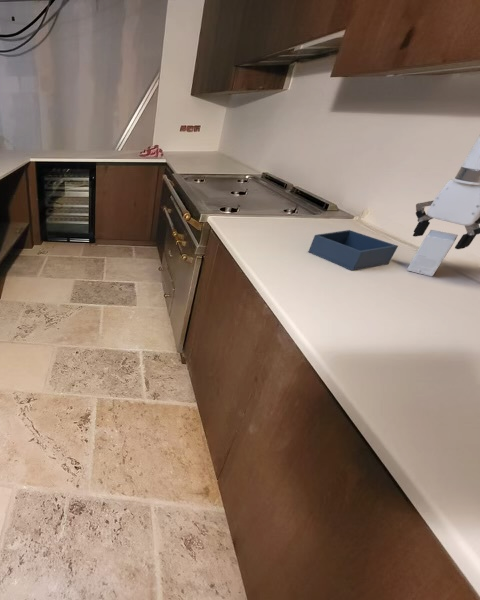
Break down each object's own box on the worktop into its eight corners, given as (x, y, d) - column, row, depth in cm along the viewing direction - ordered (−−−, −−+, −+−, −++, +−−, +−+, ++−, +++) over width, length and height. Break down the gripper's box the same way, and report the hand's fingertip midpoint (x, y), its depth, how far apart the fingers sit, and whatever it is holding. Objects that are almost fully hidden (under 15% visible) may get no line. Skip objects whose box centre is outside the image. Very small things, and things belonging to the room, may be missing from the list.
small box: (432, 277, 89) (455, 241, 83) (405, 270, 92) (426, 235, 87) (436, 269, 93) (459, 234, 88) (411, 262, 97) (431, 229, 91)
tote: (341, 246, 108) (349, 229, 105) (388, 264, 96) (398, 245, 93) (308, 251, 104) (314, 234, 101) (352, 270, 93) (361, 252, 90)
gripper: (537, 182, 73) (487, 252, 82) (445, 169, 87) (411, 230, 96) (517, 184, 71) (468, 255, 80) (426, 171, 85) (393, 232, 94)
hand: (437, 241), depth 88 cm, fingers open, 9 cm apart
